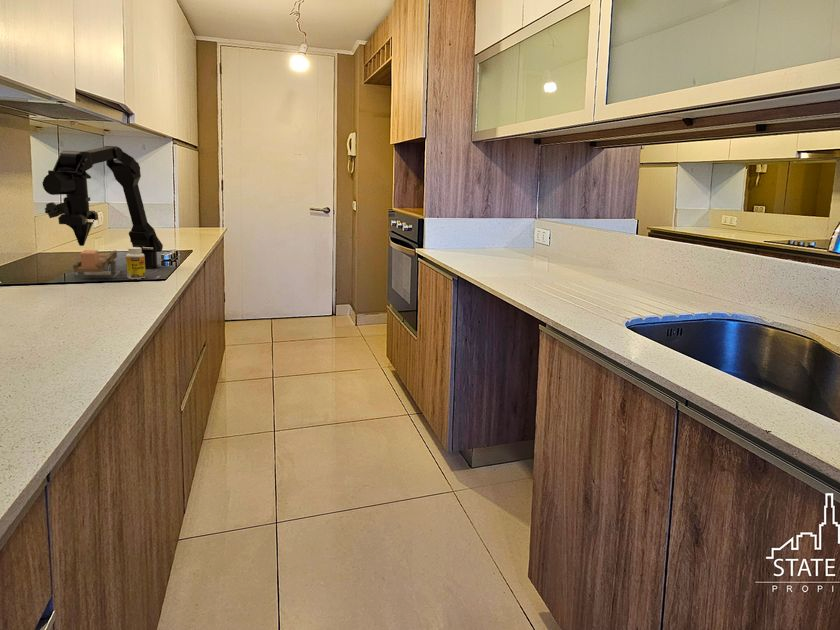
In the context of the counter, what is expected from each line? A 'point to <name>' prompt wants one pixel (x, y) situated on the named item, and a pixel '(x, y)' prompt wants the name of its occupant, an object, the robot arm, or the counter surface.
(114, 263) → the pivot stand
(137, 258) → the supplement bottle
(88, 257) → the rider block
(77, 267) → the brown tray
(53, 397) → the counter surface
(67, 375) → the counter surface
